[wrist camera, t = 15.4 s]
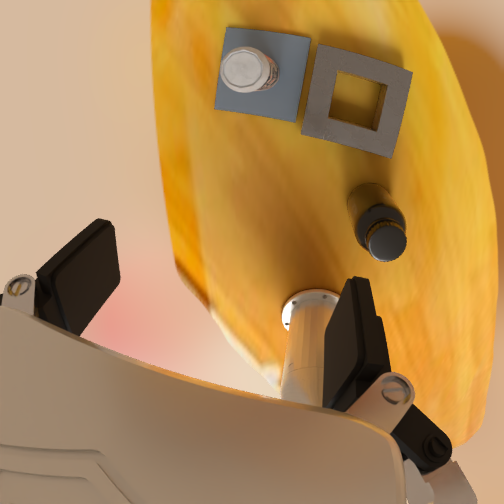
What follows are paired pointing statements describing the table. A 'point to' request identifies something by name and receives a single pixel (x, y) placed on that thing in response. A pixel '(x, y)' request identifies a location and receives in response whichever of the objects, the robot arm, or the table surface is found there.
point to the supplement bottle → (377, 222)
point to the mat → (290, 79)
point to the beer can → (248, 70)
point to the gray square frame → (387, 109)
